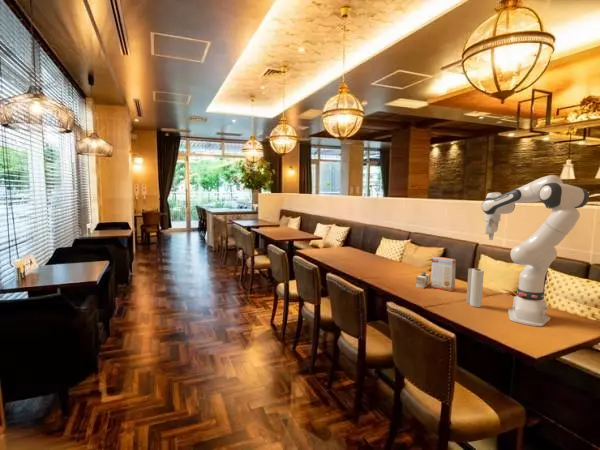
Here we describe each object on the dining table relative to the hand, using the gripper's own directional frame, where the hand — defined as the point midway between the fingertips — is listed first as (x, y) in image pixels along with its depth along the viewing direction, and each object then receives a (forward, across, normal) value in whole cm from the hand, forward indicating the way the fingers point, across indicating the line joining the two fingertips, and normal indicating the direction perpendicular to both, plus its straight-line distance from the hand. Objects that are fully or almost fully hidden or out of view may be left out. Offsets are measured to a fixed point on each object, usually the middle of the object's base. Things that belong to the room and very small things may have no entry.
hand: (491, 239), depth 217 cm
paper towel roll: (+35, -28, +2) cm, 45 cm away
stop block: (+35, -7, +39) cm, 53 cm away
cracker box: (+35, -6, +26) cm, 44 cm away
